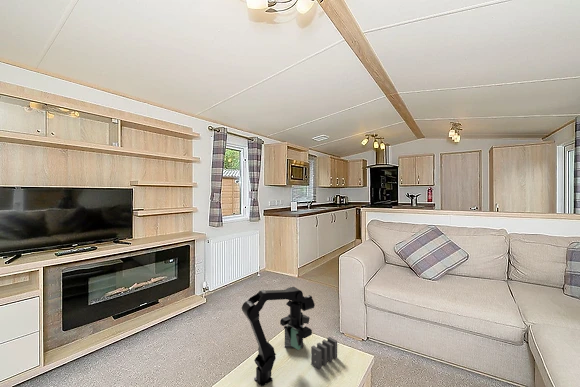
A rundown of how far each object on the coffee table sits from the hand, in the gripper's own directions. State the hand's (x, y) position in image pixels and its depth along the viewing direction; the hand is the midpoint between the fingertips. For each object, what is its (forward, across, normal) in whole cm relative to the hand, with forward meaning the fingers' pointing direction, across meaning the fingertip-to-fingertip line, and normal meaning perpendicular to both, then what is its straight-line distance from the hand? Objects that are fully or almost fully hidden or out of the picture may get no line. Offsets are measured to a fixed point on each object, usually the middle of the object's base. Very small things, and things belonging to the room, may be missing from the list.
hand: (295, 343), depth 133 cm
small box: (+12, +15, -12) cm, 23 cm away
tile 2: (+12, -7, -8) cm, 16 cm away
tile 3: (+12, -7, -13) cm, 19 cm away
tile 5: (+12, -7, -21) cm, 25 cm away
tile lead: (+2, 0, 0) cm, 2 cm away
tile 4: (+12, -7, -17) cm, 22 cm away
